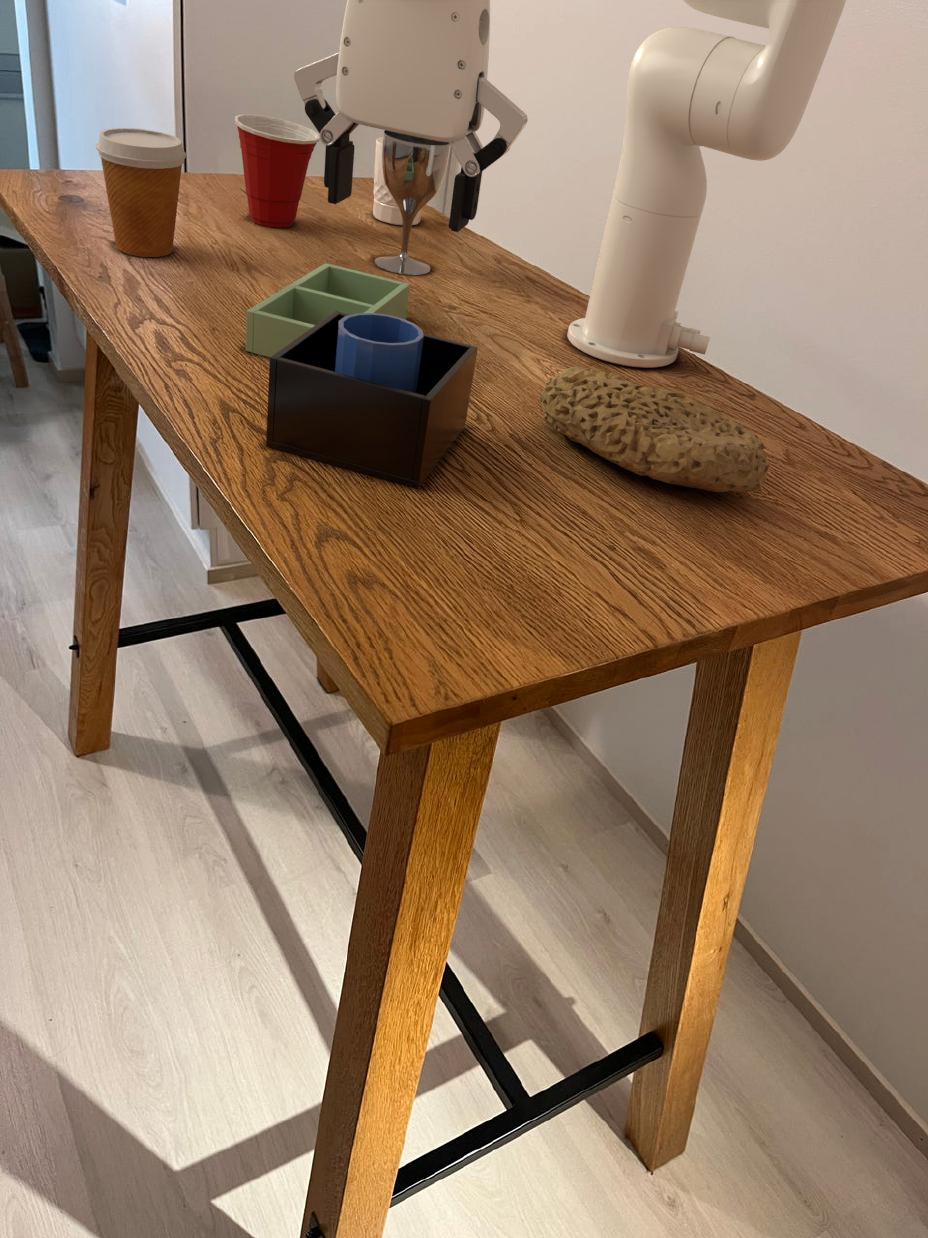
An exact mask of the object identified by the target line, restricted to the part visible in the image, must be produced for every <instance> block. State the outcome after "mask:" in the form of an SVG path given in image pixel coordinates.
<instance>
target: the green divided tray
mask: <svg viewBox="0 0 928 1238" xmlns="http://www.w3.org/2000/svg"><path fill="white" fill-rule="evenodd" d="M410 290H411V284H410V283H407V282H403V281H400V280H396V279H392V278H387V277H383V276H379V275H375V274H371V273H368V272H364V271H359V270H355V269H351V268H347V267H343V266H340V265H335V264H330V263H326V262H325V263H324V264H322V265H319V266H318V267H317V268H315V269H314V270H312V271H310V272H308V273H307V274H305V275H304V276H302V277H300V278H299V279H297V280H294V281H293V282H292V283H290V284H289V285H287V286H285V287H284V288H282V289H280V290H279V291H277V292H275V293H273V294H272V295H271V296H269V297H267V298H265V299H264V300H262V301H260V302H259V303H257V304H255V305H254V306H252V307H251V308H248V309H247V310H246V321H245V322H246V323H245V324H246V327H245V352H249V353H252V354H256V355H259V356H263V357H266V358H270V357H272V356H273V355H274V354H276V353H277V352H279V351H280V350H281V349H283V348H284V347H286V346H287V345H288V344H290V343H291V342H293V341H294V340H295V339H297V338H298V337H300V336H301V335H302V334H304V333H305V332H307V331H308V330H309V329H311V328H312V327H314V326H315V325H316V324H318V323H319V322H321V321H322V320H323V319H325V318H326V317H328V316H329V315H330V314H332V313H333V312H335V311H338V312H341V313H346V314H350V315H352V314H357V313H376V314H385V315H391V316H395V317H398V318H402V319H405V320H407V314H408V305H409V298H410Z"/></svg>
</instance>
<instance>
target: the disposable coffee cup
mask: <svg viewBox="0 0 928 1238" xmlns="http://www.w3.org/2000/svg"><path fill="white" fill-rule="evenodd" d="M95 149H96V150H97V151H98V156H99V157H100V160H101V166H102V171H103V177H104V178H103V179H104V183H105V191H106V196H107V202H108V207H109V214H110V220H111V225H112V230H113V237H114V242H115V243H114V244H115V248H116V249H117V250H118V251H120V252H122V253H124V254H127V255H130V256H135V257H141V258H159V257H165V256H168V255H170V254H171V253H173V250H174V249H173V248H174V240H175V232H176V231H175V230H176V222H177V214H178V213H177V212H178V204H179V194H180V185H181V178H182V177H181V176H182V167H183V164H184V163H185V159H186V158H187V153H186V152H185V151H184V147H183V143H182V140H181V139H180V138H179V137H177V136H174V135H172V134H169V133H165V132H162V131H158V130H151V129H145V128H136V127H135V128H132V127H114V128H113V127H111V128H107V129H103V130H101V131H100V132H99V135H98V141H97V142H96V143H95Z"/></svg>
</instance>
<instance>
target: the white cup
mask: <svg viewBox="0 0 928 1238" xmlns="http://www.w3.org/2000/svg"><path fill="white" fill-rule="evenodd" d="M382 146H383V136H381V137H378V138H376V139H375V152H374V153H375V154H374V168H373V169H374V170H373V173H374V174H373V197H374V198H373V206H372V207H373V208H372V215H373V217H374V218H375V219H376V220H378V221H381V222H383V223H386V224H391V225H396V226H397V225H398V226H403V221H402V215H401V212H400V209H399V207H398V205H397V203H396V202H395V200H394V198H393V197H392V195H391V193H390V192H389V190H388V189H387V186H386V184H385V181H384V177H383V168H382ZM422 213H423V207H422V208H421V209H420V211H419V212H418V213H417V215H416V216H415V218H414V220H413V223H412V226H415V225H416V226H417V225H418V224H420V222H421V219H422Z"/></svg>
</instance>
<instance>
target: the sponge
mask: <svg viewBox="0 0 928 1238" xmlns="http://www.w3.org/2000/svg"><path fill="white" fill-rule="evenodd" d="M544 384H545V386H544V388H543V389H542V391H541V393H540V404H541V408H542V412H543V414H544V416H543V418H544V419H545V421H546V422H547V423H548V424H550V425H551V427H552V428H553V429H554V430H555V431H557V432H558V433H560V434H562V435H564V436H566V437H567V438H568V439H569V440H570V441H572V442H574V443H579V444H580V445H582V446H583V447H586V448H587V449H589V450H590V451H592V453H594V454H597V455H599V456H600V457H601V458H604V459H605V460H607V461H609V462H611V463H613V464H615V465H618V466H619V467H621V468H623V469H625V470H627V471H628V472H631V473H634V474H636V475H639V476H641V477H644V476H645V477H646V476H648V478H649V479H652V480H656V481H659V482H663V483H664V484H668V485H669V484H670V485H676V486H682V487H686V488H694V489H699V490H704V491H708V492H713V493H725V492H733V493H750V492H757V491H759V490H760V489H761V488H762V486H763V485H764V482H765V481H766V480H767V478H768V472H769V471H768V470H769V467H770V465H771V463H770V462H769V461H768V460H767V458H768V452H767V451H766V449H767V447H766V446H765V445H764V443H763V441H762V439H761V438H760V437H759V436H758V435H756V434H755V433H752V432H751V431H749V430H748V429H747V428H745V427H744V426H743V425H742V424H741V422H740V423H738V422H736V421H735V420H733V419H731V418H729V417H728V416H726V415H724V414H723V413H721V412H718V411H716V410H715V409H713V408H711V407H710V406H708V405H706V404H705V403H703V402H701V401H699V400H696V399H693V398H691V397H689V396H687V395H685V394H683V393H681V392H678V391H677V392H675V391H672V390H668V389H665V388H661V387H658V386H654V385H648V384H634V383H633V382H630V381H627V380H626V378H625V376H622V374H619V373H617V372H610V373H606V371H599V370H596V369H592V368H589V367H587V368H585V367H581V366H579V365H574V366H571V367H568V368H562V370H561V373H557V374H555V376H554V377H553V378H552V377H551V376H549V377H548V378H547V379H546V381H545V382H544Z"/></svg>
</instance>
